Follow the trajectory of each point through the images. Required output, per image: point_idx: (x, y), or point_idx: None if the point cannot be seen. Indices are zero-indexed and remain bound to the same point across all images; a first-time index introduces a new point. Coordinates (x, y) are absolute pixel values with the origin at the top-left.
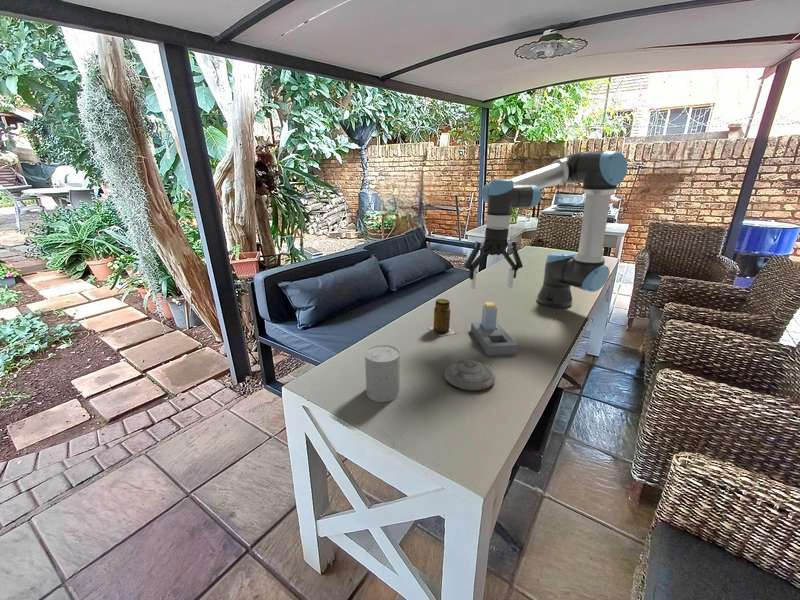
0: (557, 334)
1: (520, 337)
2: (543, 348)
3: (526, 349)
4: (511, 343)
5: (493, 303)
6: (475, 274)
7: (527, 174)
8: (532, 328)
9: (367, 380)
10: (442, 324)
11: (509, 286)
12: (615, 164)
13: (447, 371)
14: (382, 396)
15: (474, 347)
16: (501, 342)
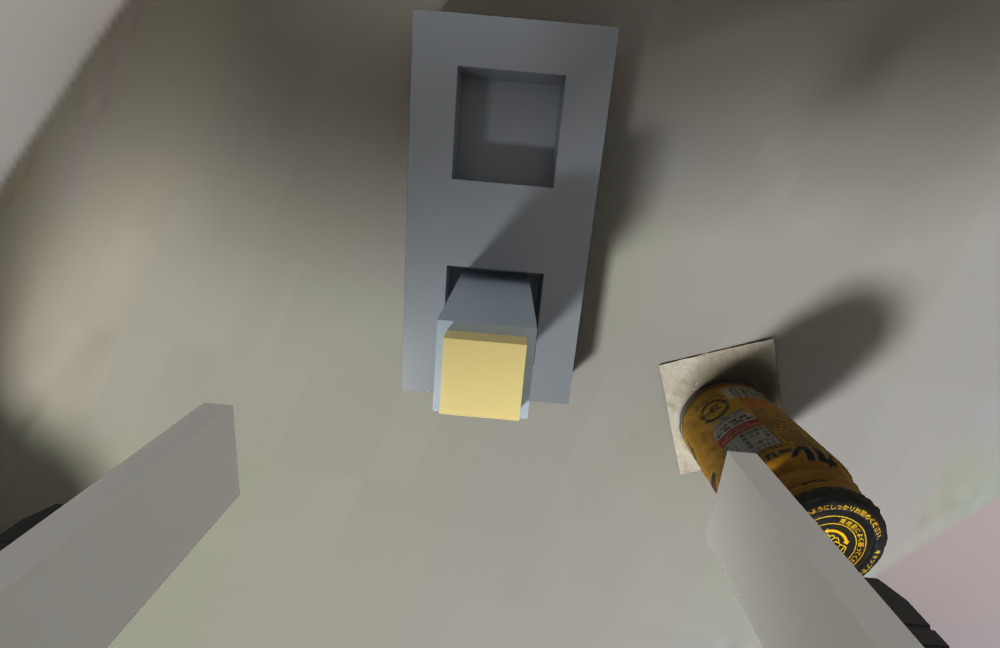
0: (73, 236)
1: (310, 241)
2: (227, 73)
3: (336, 81)
4: (443, 40)
5: (449, 384)
6: (878, 634)
7: None
8: (194, 339)
9: None
10: (763, 404)
11: (228, 439)
12: None
13: None
14: None
15: (634, 169)
16: (458, 178)
